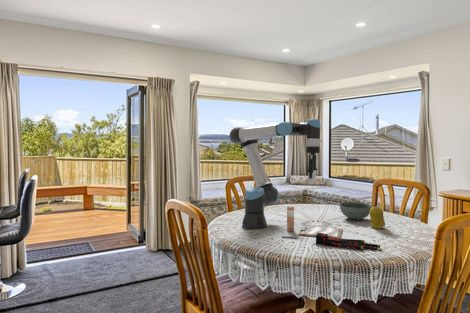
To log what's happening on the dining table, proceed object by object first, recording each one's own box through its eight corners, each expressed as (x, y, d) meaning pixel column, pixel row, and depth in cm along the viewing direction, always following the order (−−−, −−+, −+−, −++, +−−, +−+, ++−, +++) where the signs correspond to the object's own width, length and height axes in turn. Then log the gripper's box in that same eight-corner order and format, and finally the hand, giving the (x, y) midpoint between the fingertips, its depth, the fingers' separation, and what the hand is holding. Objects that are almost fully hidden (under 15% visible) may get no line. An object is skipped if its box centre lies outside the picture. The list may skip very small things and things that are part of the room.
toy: (379, 251, 167) (317, 241, 178) (380, 241, 166) (318, 231, 178) (379, 256, 159) (314, 245, 171) (380, 246, 159) (315, 236, 170)
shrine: (382, 231, 196) (382, 205, 195) (367, 229, 200) (367, 204, 200) (386, 227, 205) (386, 202, 204) (372, 225, 210) (372, 201, 209)
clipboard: (298, 235, 189) (298, 232, 189) (304, 226, 207) (304, 223, 207) (339, 239, 181) (339, 235, 181) (342, 230, 199) (342, 227, 199)
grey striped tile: (281, 237, 184) (281, 236, 184) (282, 234, 190) (282, 233, 190) (296, 238, 183) (296, 237, 183) (297, 235, 189) (297, 234, 189)
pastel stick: (286, 231, 197) (286, 207, 197) (287, 229, 201) (287, 206, 200) (293, 232, 196) (293, 207, 195) (294, 230, 200) (294, 206, 199)
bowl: (355, 214, 241) (355, 200, 240) (379, 220, 222) (379, 205, 222) (332, 217, 232) (332, 203, 232) (355, 224, 213) (355, 208, 213)
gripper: (317, 146, 184) (316, 185, 185) (321, 145, 207) (320, 180, 209) (303, 146, 186) (302, 185, 188) (309, 145, 210) (308, 179, 211)
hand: (312, 182), depth 198 cm, fingers open, 13 cm apart
